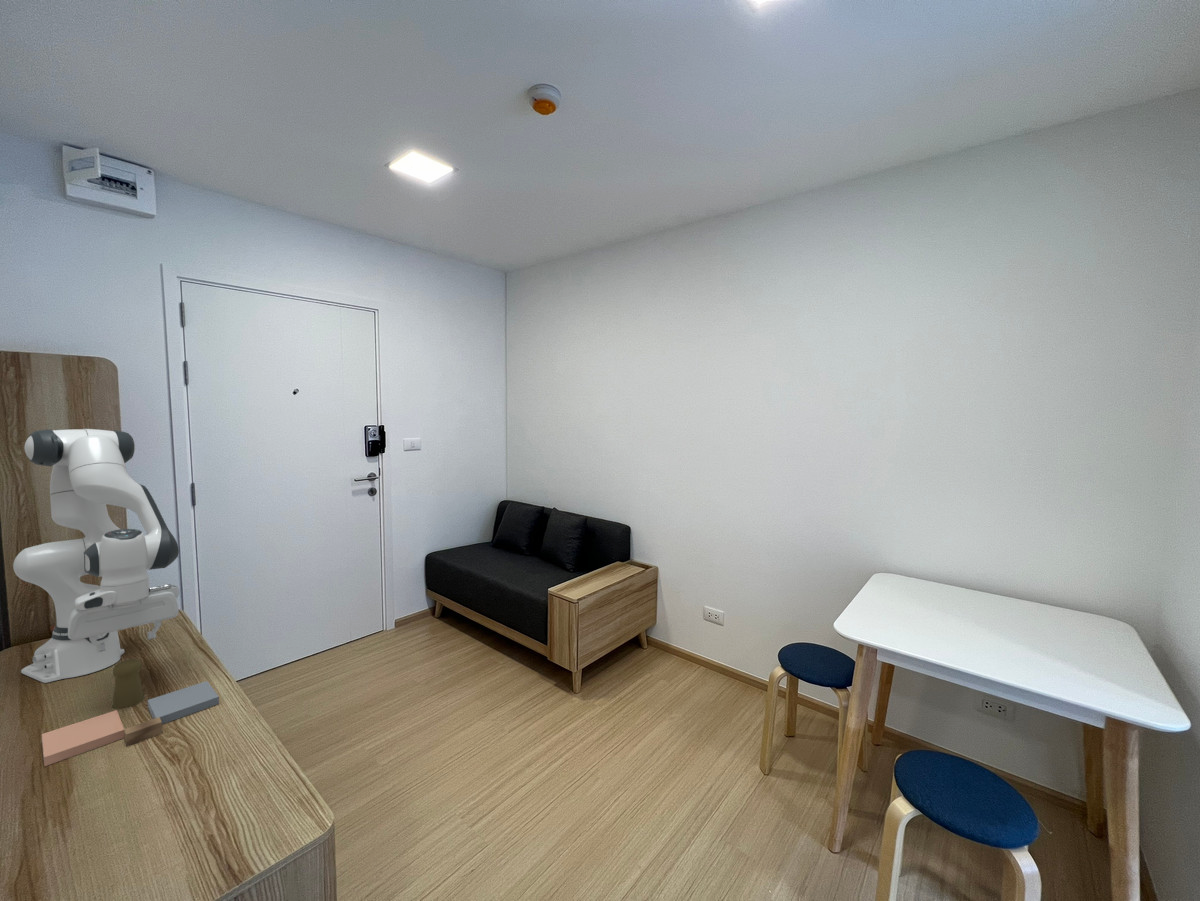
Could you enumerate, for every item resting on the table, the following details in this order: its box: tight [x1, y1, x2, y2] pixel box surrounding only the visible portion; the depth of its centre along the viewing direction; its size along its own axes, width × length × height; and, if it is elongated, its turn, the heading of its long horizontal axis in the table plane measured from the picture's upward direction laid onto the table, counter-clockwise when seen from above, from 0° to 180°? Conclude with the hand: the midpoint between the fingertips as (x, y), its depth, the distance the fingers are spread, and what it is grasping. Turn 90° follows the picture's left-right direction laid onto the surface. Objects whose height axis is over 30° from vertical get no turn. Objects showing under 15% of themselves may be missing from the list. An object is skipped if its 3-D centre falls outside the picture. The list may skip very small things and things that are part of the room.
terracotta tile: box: [41, 709, 125, 767], centre depth 108 cm, size 12×12×2 cm
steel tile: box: [147, 680, 220, 725], centre depth 121 cm, size 12×12×2 cm
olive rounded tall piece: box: [111, 658, 145, 710], centre depth 122 cm, size 6×6×11 cm
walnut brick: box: [123, 717, 163, 747], centre depth 109 cm, size 6×3×3 cm, turn 142°
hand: (127, 644), depth 122 cm, fingers open, 8 cm apart
